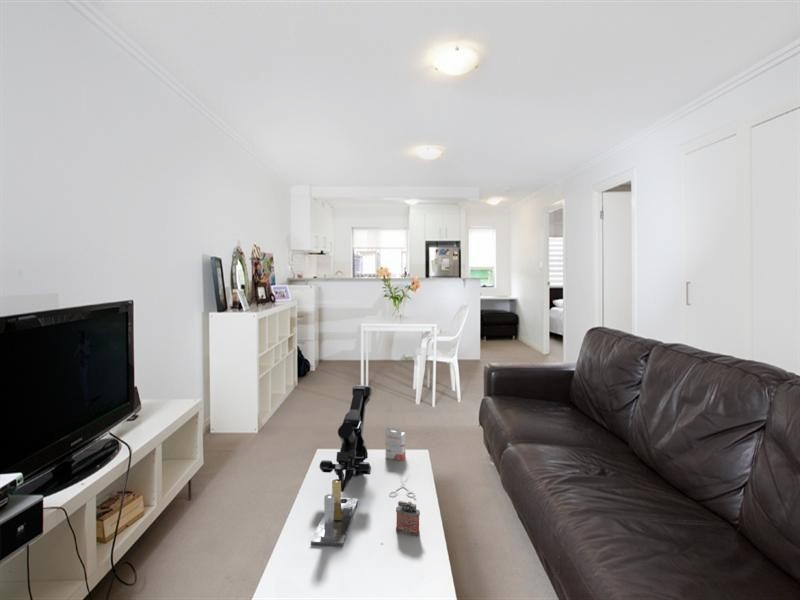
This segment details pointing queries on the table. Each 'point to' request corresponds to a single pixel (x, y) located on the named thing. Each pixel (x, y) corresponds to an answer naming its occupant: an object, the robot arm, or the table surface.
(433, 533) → the table surface
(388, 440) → the ink cartridge box
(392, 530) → the table surface
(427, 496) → the table surface
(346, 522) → the bolt plate
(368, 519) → the table surface
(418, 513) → the lighter
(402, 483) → the scissors
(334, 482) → the gold tapered block
